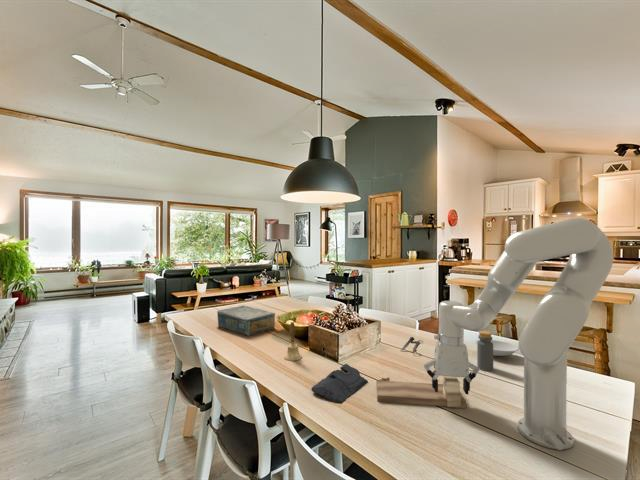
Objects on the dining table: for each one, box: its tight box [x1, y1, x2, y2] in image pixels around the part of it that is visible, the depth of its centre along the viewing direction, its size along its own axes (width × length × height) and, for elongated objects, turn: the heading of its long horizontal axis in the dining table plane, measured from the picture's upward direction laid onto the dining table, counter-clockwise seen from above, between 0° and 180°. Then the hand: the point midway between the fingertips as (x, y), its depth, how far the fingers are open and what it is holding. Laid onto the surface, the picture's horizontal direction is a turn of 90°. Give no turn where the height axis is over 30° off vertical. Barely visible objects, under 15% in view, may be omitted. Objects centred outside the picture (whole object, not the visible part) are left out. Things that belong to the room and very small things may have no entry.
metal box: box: [216, 305, 276, 337], centre depth 191 cm, size 21×32×10 cm, turn 49°
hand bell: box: [283, 321, 303, 362], centre depth 143 cm, size 8×8×16 cm
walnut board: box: [375, 379, 467, 408], centre depth 108 cm, size 11×28×2 cm, turn 81°
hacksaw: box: [399, 336, 423, 357], centre depth 155 cm, size 24×10×2 cm, turn 150°
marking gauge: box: [442, 376, 462, 408], centre depth 105 cm, size 10×4×8 cm, turn 171°
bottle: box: [476, 330, 494, 372], centre depth 130 cm, size 6×6×15 cm
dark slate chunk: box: [311, 363, 369, 404], centre depth 115 cm, size 15×22×5 cm
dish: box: [474, 339, 520, 357], centre depth 143 cm, size 18×14×5 cm
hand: (450, 391), depth 103 cm, fingers open, 9 cm apart
